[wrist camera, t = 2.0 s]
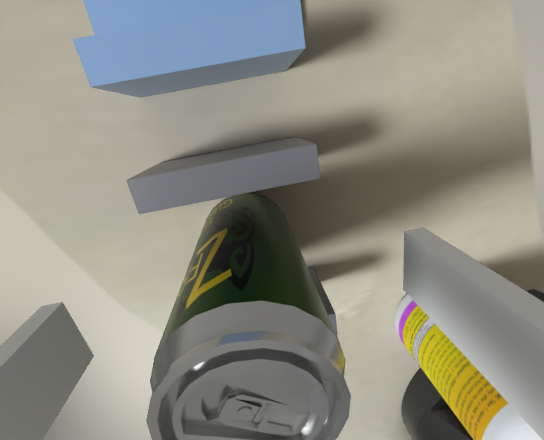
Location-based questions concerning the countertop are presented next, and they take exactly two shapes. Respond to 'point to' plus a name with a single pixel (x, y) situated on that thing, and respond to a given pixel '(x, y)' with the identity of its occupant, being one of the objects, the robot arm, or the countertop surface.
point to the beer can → (248, 338)
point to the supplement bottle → (458, 379)
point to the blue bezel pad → (157, 11)
